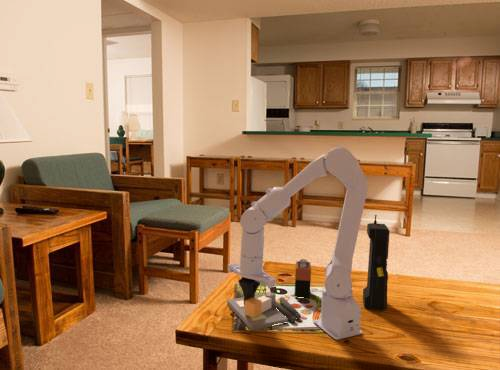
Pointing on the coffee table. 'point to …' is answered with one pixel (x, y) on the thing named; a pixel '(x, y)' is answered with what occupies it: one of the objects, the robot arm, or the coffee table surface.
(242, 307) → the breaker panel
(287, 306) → the dark grey rounded rod
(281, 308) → the dark grey rod
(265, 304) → the lever
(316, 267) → the coffee table surface
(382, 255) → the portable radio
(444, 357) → the coffee table surface
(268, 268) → the coffee table surface
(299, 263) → the battery
